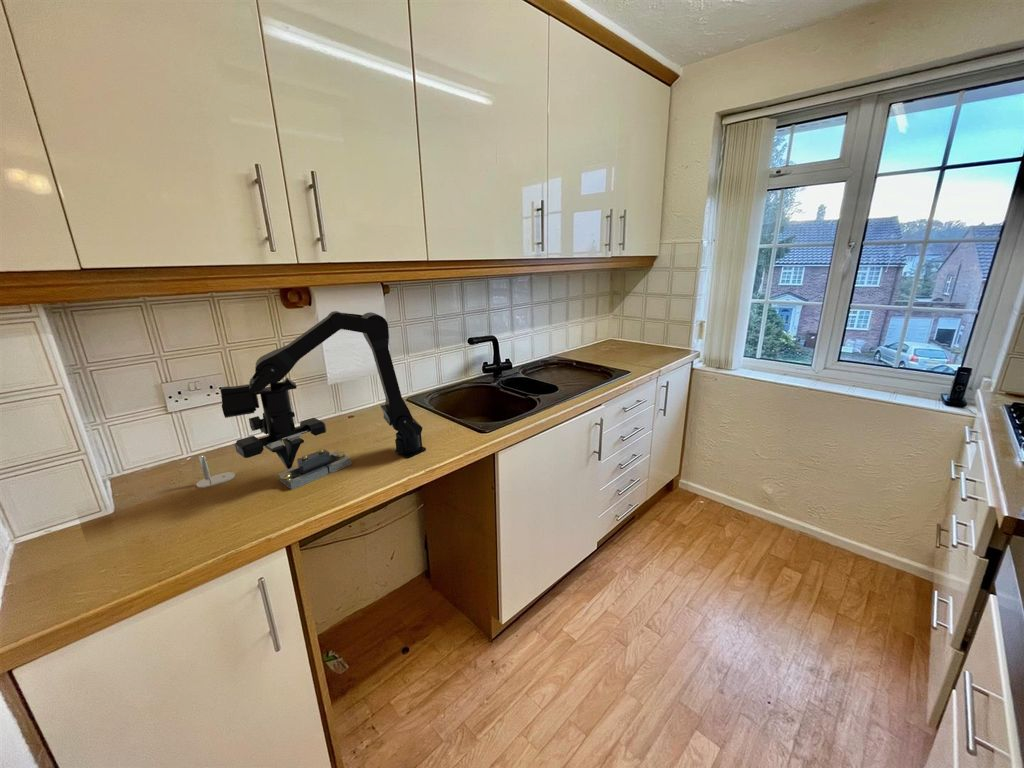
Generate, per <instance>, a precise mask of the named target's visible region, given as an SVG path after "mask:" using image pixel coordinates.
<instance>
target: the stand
mask: <svg viewBox="0 0 1024 768" xmlns="http://www.w3.org/2000/svg"><path fill="white" fill-rule="evenodd" d="M198 459H199V462H200V466H201V470H202V473H203V477H204V478H202V479H201V480H199V481H197V483H196V488H197V489H205V488H209V487H213V486H216V485H220V484H223V483H227V482H228V481H231V480H232V479H233V478H235V476H236V475H235V473H234V472H231V471H227V472H221V473H218V474H215V475H212V476H211V474H210V470H209V466H208V463H207V461H208V460H207V457H206V456H205V455H198Z"/></svg>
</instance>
